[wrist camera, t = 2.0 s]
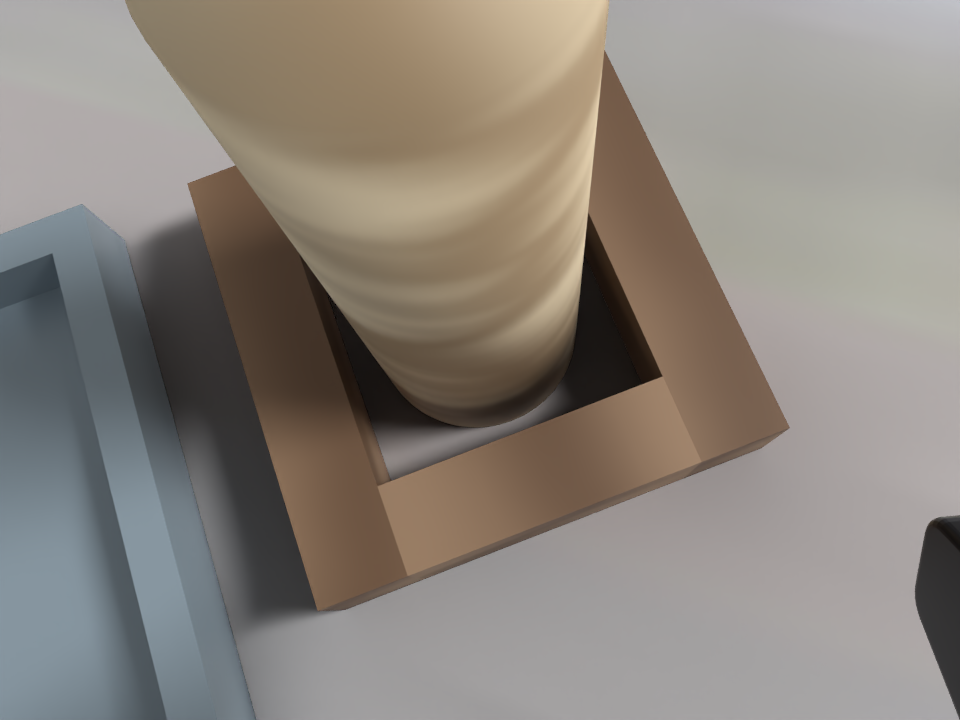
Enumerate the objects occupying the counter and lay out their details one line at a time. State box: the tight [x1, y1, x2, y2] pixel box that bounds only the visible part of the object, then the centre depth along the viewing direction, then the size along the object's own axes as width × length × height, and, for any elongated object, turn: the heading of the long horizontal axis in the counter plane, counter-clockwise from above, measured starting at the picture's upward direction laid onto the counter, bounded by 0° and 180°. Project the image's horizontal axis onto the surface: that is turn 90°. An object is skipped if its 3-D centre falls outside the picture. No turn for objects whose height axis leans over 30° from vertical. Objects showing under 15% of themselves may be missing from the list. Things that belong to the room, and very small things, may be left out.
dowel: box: [125, 0, 609, 427], centre depth 15 cm, size 5×5×14 cm
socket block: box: [188, 50, 790, 611], centre depth 21 cm, size 11×11×2 cm
